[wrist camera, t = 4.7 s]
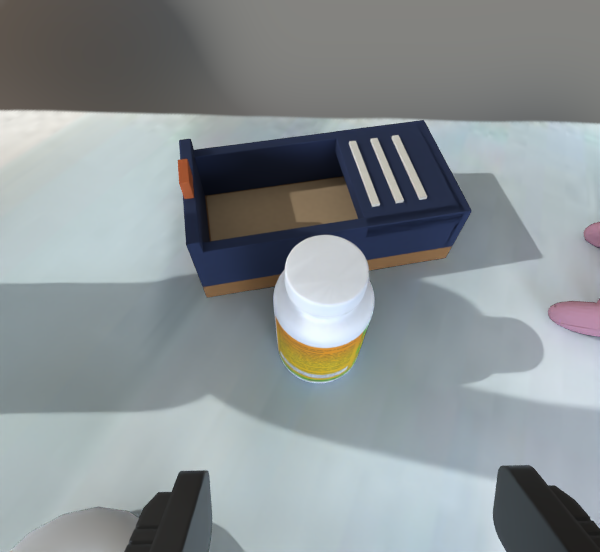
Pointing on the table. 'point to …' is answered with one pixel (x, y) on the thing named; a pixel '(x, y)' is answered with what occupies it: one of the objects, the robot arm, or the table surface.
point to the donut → (82, 532)
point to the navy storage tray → (317, 201)
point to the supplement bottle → (322, 308)
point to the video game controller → (576, 313)
